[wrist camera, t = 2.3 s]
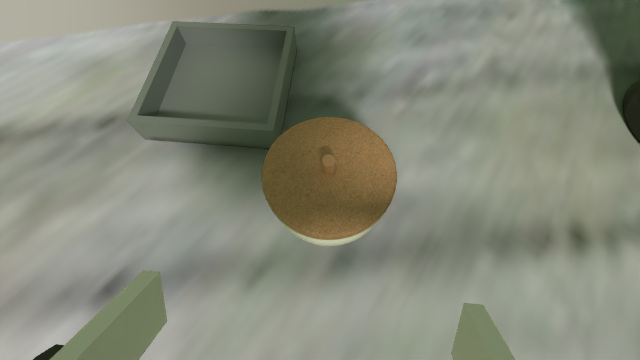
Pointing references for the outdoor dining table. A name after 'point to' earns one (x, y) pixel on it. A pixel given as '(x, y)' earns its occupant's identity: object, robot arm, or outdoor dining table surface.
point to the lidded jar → (329, 180)
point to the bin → (218, 85)
